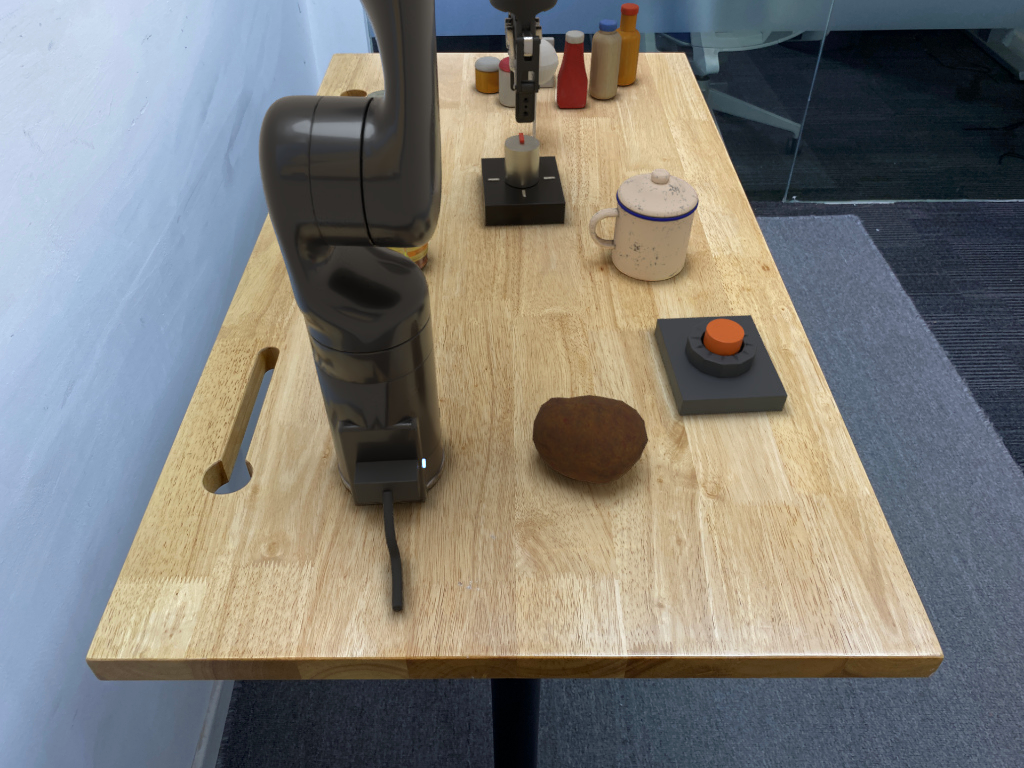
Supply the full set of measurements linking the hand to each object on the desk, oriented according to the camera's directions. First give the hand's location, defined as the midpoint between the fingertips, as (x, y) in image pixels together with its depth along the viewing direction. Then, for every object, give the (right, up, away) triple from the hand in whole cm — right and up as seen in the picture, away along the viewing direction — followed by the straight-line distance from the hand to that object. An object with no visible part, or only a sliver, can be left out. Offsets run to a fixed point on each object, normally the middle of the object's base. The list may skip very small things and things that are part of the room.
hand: (521, 105), depth 92 cm
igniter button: (+19, -30, -17) cm, 39 cm away
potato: (+6, -41, -23) cm, 47 cm away
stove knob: (0, -7, +7) cm, 10 cm away
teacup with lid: (+14, -19, -1) cm, 23 cm away
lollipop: (+2, +1, +20) cm, 20 cm away
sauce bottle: (-14, -19, -1) cm, 24 cm away
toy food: (+6, +14, +33) cm, 36 cm away
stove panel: (0, -9, +9) cm, 13 cm away
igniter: (+19, -32, -15) cm, 40 cm away
